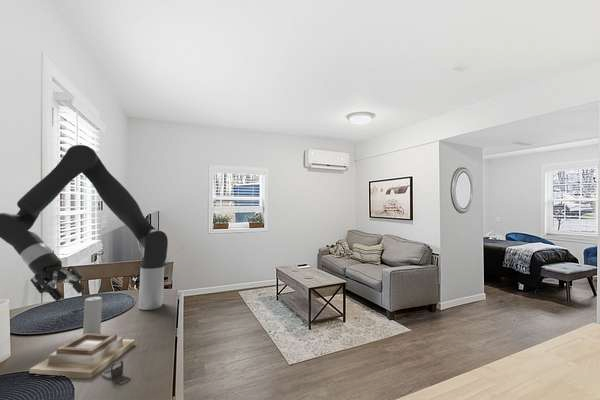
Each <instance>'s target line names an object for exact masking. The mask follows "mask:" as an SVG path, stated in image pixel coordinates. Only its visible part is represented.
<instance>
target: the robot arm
mask: <svg viewBox="0 0 600 400" xmlns="http://www.w3.org/2000/svg"><path fill="white" fill-rule="evenodd" d="M80 174H82V175H84V176H85V178H86V179H88V181H89V182H90V183H91V184H92V186H93V188H94V189H95V190H96V193H97V194H98V196H99V197H100V198H101V200H102V201H103V203H104V204H105V205H106V207H108V209H109V210H110V211H111V212H112V213H113V214H114V215H115V216H116V217H117V218H118V219H119V220H120V221H121V222H122V223H123V224H124V225H125V226H126V227H128V228H129V230H130V231H131V232H132V233H133V235H134V237H135V239H136V240H137V241H138V242H139V244H140V246H142V247H143V249H144V250H143V259H142V260H141V261H140V268H139V269H140V274H139V288H138V290H139V291H138V305H137V306H138V307H137V309H138V310H142V311H150V310H155V309H156V310H157V309H159V308H161V307H162V306H163V303H164V301H163V300H164V289H165V288H164V286H165V282H164V280H165V279H164V277H165V263H166V260H167V257H168V245H169V244H168V243H169V239H168V236H167V234H166V233H165V232H164V231H162V230H159V229H157V228H155V227H154V226H153V225H152V224H151V223H150V222H149V221H148V220H147V218H146V217H145V216H144V214H143V212H142V210H141V208H140V205H139V204H138V202H137V201H136V199H135V198H134V196H133V195H131V193H130V192H129V191H128V190H127V189H126V188H125V186H124V185H123V184H122V183H121V182H120V181H118V179H117V178H115V177H114V176H113V174H111V173H110V171H109V170H108V169H107V167H106V166H105V165H104V163H103V162H102V160H101V158H100V157H99V156H98V153H97V152H96V151H95V150H94V148H92V147H91V146H89V145H86V144H82V143H81V144H80V143H79V144H73V145H71V146H70V147H69V148H68V149H66V152H65V153H64V155H63V157H62V158H61V159H60V161H59V162H58V163H57V165H56V166H55V167H54V168H53V169H52V170H50V172H49V173H48V174H47V175H46V176H45V177H43V178H42V179H41V180H40V181H39V182H38V183H36V184H35V185H33V187H31V189H30V190H28V191H27V192H26V193H25V194H24V195H23V196H22V197H21V198H20V199H19V200H18V201H17V202H16V205H17V207H18V208H19V210H18V212H17V213H16V214H15V213H11V212H0V239H1V240H3V241H4V242H5V243H7V244H8V245H10V246H12V247H13V249H14V250H15V252H16V253H17V254H18V255H19V256H20V257H21V259H22V261H23V262H24V264H25V265H26V266H27V267H28V268H29V270H30V271H31V272H32V273H33V274H34V275H33V277H31V279H30V282H31V284H32V285H33V286H34V287H35V289H36V290H37V291H38V292H39V294H44V293H46V294H49V295H50V297H51V298H52V299H53V300H54V301H56V302H59V301H60V300H61V299H63V298H64V295H63V294H62V292H60V290H59V289H58V288H57V287H56V285H57V284H61V283H62V284H69V285H71V286H72V288H73V289H74V290H75V291H76V293H78V294H82V292H83V291H84V290H85V287H84V285H83V284H81V282H80V281H81V279H82V278H83V276H82V275H81V274H80V273H79V272H78V271H77V270H76V269H75V267H73V266H72V265H70V266H68V268H64V267H63V265H62V264H63V262H62V261H61V259H60V258H59V257H58V256H57V254H56V253H55V252H54V251H53V250H52V248H51V247H49V246H48V245H47V244H46V243H45V241H43V240H42V238H41V237H40V236H39V235H38V234H37V233H36V232H32V231H30V230H31V228H32V227H33V226H34V224H35V222H36V221H37V219H38V218H39V215H40V214H41V212H42V211H44V210H45V209H46V208H47V207H48V206H49V205H50V204H51V203H52V202H53V201H54V200H55V199H56V198H57V197H58V195H60V193H61V192H62V191H63V190H64V189H65V188H66V187H67V186H68V185H69V183H71V182H72V181H73V180H74V179H75V178H77V177H78V176H79V175H80Z"/></svg>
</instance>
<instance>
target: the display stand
mask: <svg viewBox="0 0 600 400" xmlns="http://www.w3.org/2000/svg"><path fill="white" fill-rule="evenodd" d="M135 343H136V339H128V338H126V339H125V338H124V337H121V336H118V334H111V333H99V334H96V333H85V334H83V333H82V334H81V335H79V336H78V337H76V338H74V339H72V340H70V341H69V342H66V343H65V344H63V345H60V346H59V347H58V348H56V350H55V351H53V352H52V353H50V354H48V357H47V358H46V359H45V360H42V361H41V362H39V363H38V364H35V365H34V366H32V367H30V368H29V373H36V374H47V375H62V376H66V377H65V378H72V379H73V378H74V379H75V378H76V379H92V378H93V377H94V376H96V375H97V374H98V373H100V372H101V371H102V370H104V369H105V368H106V367H108V366H109V365H111V363H113V362H114V361H116V360H117V359H118V358H119V357H121V356H122V355H123V354H125V353H126V352H127V351H129V350H130V349H131V348H133V347H134V346H135ZM29 373H28V374H29Z"/></svg>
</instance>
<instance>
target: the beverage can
mask: <svg viewBox="0 0 600 400" xmlns="http://www.w3.org/2000/svg"><path fill="white" fill-rule="evenodd" d="M83 305H84V307H83V327H82V328H83V329H82V335H83V334H85V333H96V334H101V328H102V312H103V297H102V296H98V295H97V296H95V295H94V296H90V297H86V299H85V300H84V304H83Z"/></svg>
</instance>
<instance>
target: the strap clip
mask: <svg viewBox="0 0 600 400" xmlns="http://www.w3.org/2000/svg"><path fill="white" fill-rule="evenodd" d="M118 364H120V365H119V366H117V367H115V368H113V367H114V366H116V365H118ZM101 377H102V378H104V379H106V380H111V381H112V383H114V384H115V385H117V386H124V385H126V384H127V383H130V382H131V381H132V379H131V378H130V377H129V376H126V375H124V362H123V360H119V361H117V362H114V363H113V364H110V368H109V369H108V370H106V371H104V372H102V373H101Z"/></svg>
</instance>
